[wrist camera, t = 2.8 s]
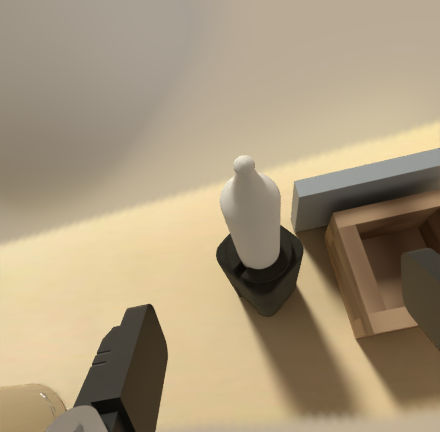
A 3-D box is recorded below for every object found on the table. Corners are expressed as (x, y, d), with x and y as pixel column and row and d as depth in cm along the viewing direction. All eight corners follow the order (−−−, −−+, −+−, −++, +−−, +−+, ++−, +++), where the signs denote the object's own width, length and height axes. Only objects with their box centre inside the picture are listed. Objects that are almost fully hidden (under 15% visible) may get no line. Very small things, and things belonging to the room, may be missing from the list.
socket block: (355, 338, 33) (374, 333, 27) (323, 238, 37) (332, 212, 31) (467, 317, 32) (514, 306, 26) (421, 216, 36) (452, 186, 30)
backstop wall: (294, 232, 38) (299, 197, 30) (290, 219, 38) (294, 181, 30) (443, 200, 37) (490, 153, 28) (436, 186, 37) (481, 138, 29)
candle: (300, 283, 36) (339, 149, 13) (268, 321, 35) (249, 249, 12) (262, 253, 38) (237, 87, 15) (230, 288, 37) (153, 170, 14)
